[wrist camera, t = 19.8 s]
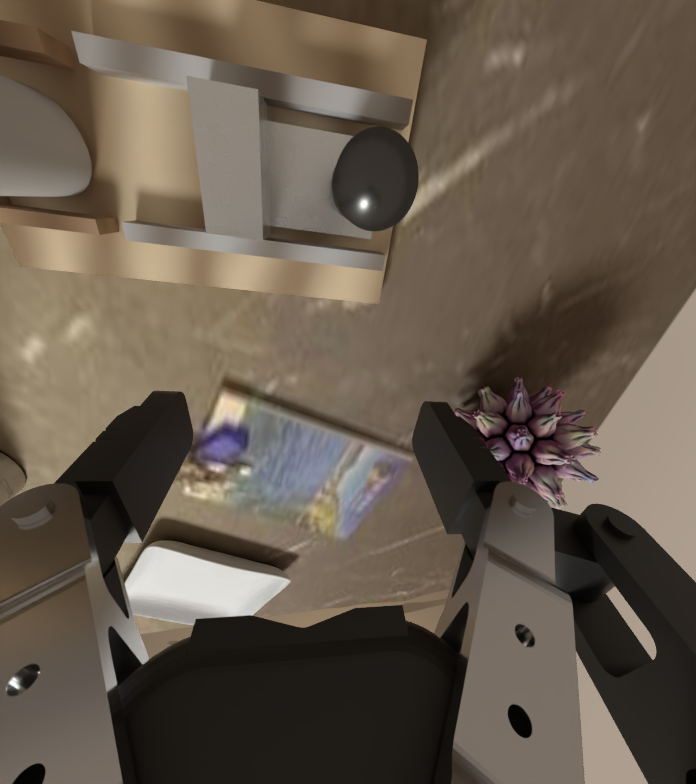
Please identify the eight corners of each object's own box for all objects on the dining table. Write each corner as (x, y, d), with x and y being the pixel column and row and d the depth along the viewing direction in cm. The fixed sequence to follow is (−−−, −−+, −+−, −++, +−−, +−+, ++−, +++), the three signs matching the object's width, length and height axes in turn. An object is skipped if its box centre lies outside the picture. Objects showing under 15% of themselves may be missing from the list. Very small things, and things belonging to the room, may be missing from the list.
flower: (552, 412, 33) (652, 504, 23) (454, 458, 36) (504, 557, 26) (527, 333, 27) (646, 410, 17) (413, 396, 30) (458, 492, 20)
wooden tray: (38, 262, 21) (-9, 272, 18) (-103, -66, 13) (-222, -140, 10) (376, 298, 24) (383, 311, 21) (419, 51, 16) (439, 19, 14)
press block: (226, 227, 19) (154, 247, 11) (215, 102, 16) (99, -5, 8) (368, 246, 20) (399, 276, 12) (384, 133, 17) (442, 70, 9)
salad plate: (158, 522, 39) (145, 547, 36) (295, 559, 47) (293, 583, 44) (117, 587, 48) (104, 612, 45) (238, 610, 56) (234, 632, 53)
